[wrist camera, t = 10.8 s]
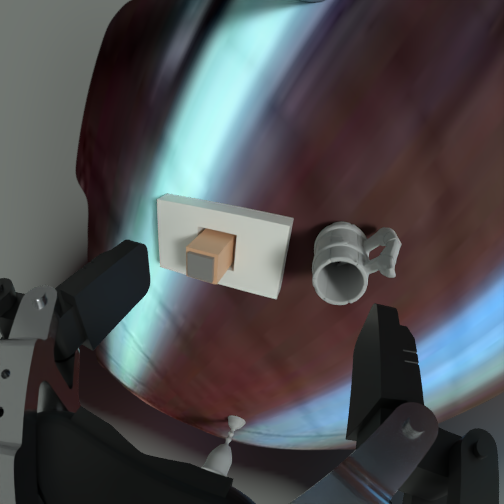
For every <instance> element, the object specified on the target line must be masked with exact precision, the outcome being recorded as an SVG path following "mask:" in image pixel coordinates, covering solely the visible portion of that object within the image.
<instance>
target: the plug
mask: <svg viewBox="0 0 504 504" xmlns="http://www.w3.org/2000/svg"><path fill="white" fill-rule="evenodd" d="M236 238H237V235H234V234H229V233H225V232H221V231H216V230H212V229H207V228H206V229H205V230H204V231H203V232H202V233H201V234H199V235H198V236H197V237H196V238H195V239H194V240H193V241H192V242H191V243H190V244H189V245H187V246H186V276H189V277H192V278H195V279H199V280H202V281H206V282H209V283H213V284H216V285H217V284H218V282H219V281H220V280H221V278H222V277H223V275H224V274H225V273H226V271H227V270H228V268H229V267H230V266H231V264H232V263H233V261H234V260H235V249H236Z"/></svg>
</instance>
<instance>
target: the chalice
mask: <svg viewBox="0 0 504 504" xmlns="http://www.w3.org/2000/svg"><path fill="white" fill-rule="evenodd" d="M228 422H229V423H228V424H229V426H230V427H231V431H230V432H229V433H228V437H227V438H226V443H225V444H221V445H219V446H218V447H217V448H215V449H214V450H213V451H212V452H211V453H210V454H209V456H208V458H207V460H206V463H205V464H204V466H202V467H201V468H203V469H205V470H208V471H211V472H214V473H217V474H220V475H223V476H226V477H227V473H228V470H229V468H230V466H231V463H232V455H231V448H230V447H229V446H228V444H229V442H230V441H232V440H231V437H232V436H234V431H235V430H236V429H240V428H241V427H242V426H243V425H244V424H245V421H244V420H243V419H242V418H240V417H237V416H229V417H228Z"/></svg>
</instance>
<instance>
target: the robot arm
mask: <svg viewBox="0 0 504 504" xmlns="http://www.w3.org/2000/svg"><path fill="white" fill-rule="evenodd" d="M299 1H305V2H318V1H324V0H299ZM149 286H150V272H149V262H148V251H147V247H146V245H144V244H142V243H138V242H134V241H131V240H124V241H123V242H121V243H120V244H119V245H117V246H116V247H114V248H113V249H112V250H109V251H107V252H104V253H102V254H100V255H98V256H97V257H96V258H94V259H93V260H92V261H91V263H90V262H89V263H88V264H86V265H85V266H84V267H83V268H81V269H80V270H78V271H77V272H76V273H74V274H73V275H72V276H70V277H69V278H68V279H67V280H65V281H64V282H63V283H62V284H60V285H59V286H58V287H56V288H55V289H54V288H53V287H51V286H38V287H35V288H33V289H31V290H30V291H28V292H27V293H26V294H22V293H17V292H15V289H14V287H13V284H12V282H11V280H10V279H7V278H1V279H0V333H1V334H2V336H3V337H2V338H1V339H0V504H256V503H254V502H253V501H252V500H251V499H250V498H249V497H248V496H246V495H245V494H243V493H242V492H241V491H239V490H237V489H236V488H234V487H232V482H233V479H232V478H229V477H226V476H223V475H220V474H217V473H214V472H211V471H208V470H205V469H203V468H200V467H197V466H195V465H192V464H190V463H184V462H179V461H173V460H168V459H163V458H158V457H154V456H150V455H146V454H143V453H141V452H140V451H139V450H137V449H136V448H135V447H134V446H133V445H132V444H131V443H129V442H128V441H127V440H126V439H125V438H124V437H123V436H122V435H121V434H120V433H119V432H118V431H117V430H116V429H115V428H114V427H113V426H111V425H110V424H109V423H107V422H105V421H104V420H102V419H100V418H99V417H97V416H96V415H94V414H92V413H91V412H89V411H88V410H86V409H85V408H83V407H82V406H81V405H80V402H79V398H78V379H79V360H80V352H79V349H78V348H79V347H80V346H81V345H82V344H83V345H84V346H86V347H88V348H90V349H92V350H94V349H95V348H96V347H97V346H98V345H99V344H100V343H101V341H102V340H103V339H104V338H105V337H106V336H107V335H108V334H109V333H110V332H111V331H112V330H113V329H114V327H115V326H116V325H117V324H118V323H119V322H120V321H121V320H122V319H123V318H124V317H125V316H126V315H127V314H128V313H129V312H130V311H131V309H132V308H133V307H134V306H135V305H136V304H137V303H138V302H139V301H140V300H141V299H142V298H143V297H144V296H145V295H146V293H147V292H148V289H149ZM416 353H417V349H416V344H415V339H414V337H413V335H412V334H411V332H410V331H409V329H408V328H407V327H406V326H402V325H400V324H399V318H398V312H397V309H396V308H393V307H389V306H384V305H380V304H376V303H375V304H373V306H372V308H371V310H370V312H369V314H368V317H367V319H366V321H365V323H364V326H363V328H362V330H361V332H360V334H359V336H358V339H357V342H356V345H355V349H354V355H353V371H352V385H351V397H350V407H349V416H348V425H347V433H346V440H353V441H357V443H356V450H355V451H354V452H353V453H352V454H351V455H350V456H349V457H348V458H347V459H346V460H344V461H343V462H342V463H341V464H340V465H339V466H338V467H336V468H335V469H334V470H333V471H332V472H330V473H329V474H328V475H327V476H326V477H324V478H323V479H322V480H320V482H318V483H317V484H315V485H314V486H313V487H311V488H310V489H309V490H307V491H306V492H305V493H303V494H302V495H301V496H299V497H298V498H296V499H295V500H293V501H292V502H290V503H289V504H392V502H391V501H390V499H391V497H392V496H393V495H394V494H395V492H396V491H397V490H398V491H401V492H404V497H403V504H499V470H498V454H497V447H496V443H495V440H494V439H493V437H492V436H491V435H490V433H488V432H487V431H485V430H483V429H479V428H478V429H473V430H470V431H469V432H468V433H467V434H466V435H464V436H463V437H461V436H458V435H456V434H453V433H450V432H448V431H445V430H443V429H441V428H439V427H438V422H437V419H436V417H435V415H434V414H433V412H432V411H431V410H430V409H429V408H427V407H426V406H424V401H423V391H422V383H421V375H420V368H419V365H418V355H417V354H416Z"/></svg>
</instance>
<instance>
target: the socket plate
mask: <svg viewBox="0 0 504 504" xmlns="http://www.w3.org/2000/svg"><path fill="white" fill-rule="evenodd" d="M157 218H158V240H159V257H160V267H162V268H165V269H169V270H172V271H175V272H179V273H182V274H186V246H187V245H189V244H190V243H191V242H192V241H193V240H194V239H195V238H196V237H197V236H198V235H199V234H201V233H202V232H203V231H204V230H205V229H206V228H207V229H212V230H216V231H221V232H225V233H229V234H234V235H237V238H236V249H235V260H234V261H233V263H232V264H231V266H230V267H229V268H228V270H227V271H226V273H225V274H224V275H223V277H222V278H221V280H220V281H219V282H218V284H221V285H224V286H228V287H232V288H235V289H239V290H243V291H247V292H250V293H254V294H258V295H262V296H266V297H269V298H273V299H277V296H278V294H279V291H280V289H281V284H282V279H283V273H284V268H285V263H286V258H287V252H288V247H289V241H290V236H291V230H292V225H293V219H294V218H291V217H286V216H281V215H277V214H272V213H267V212H262V211H258V210H253V209H248V208H243V207H238V206H233V205H228V204H223V203H217V202H212V201H207V200H201V199H196V198H191V197H185V196H179V195H174V194H168V193H167V194H165V195H164V196H162V197H160V198H158V199H157Z"/></svg>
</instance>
